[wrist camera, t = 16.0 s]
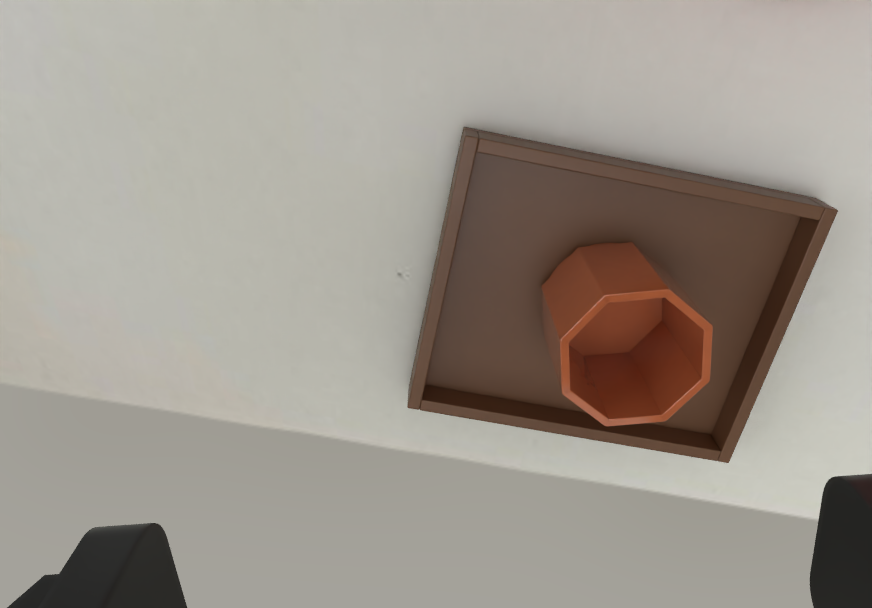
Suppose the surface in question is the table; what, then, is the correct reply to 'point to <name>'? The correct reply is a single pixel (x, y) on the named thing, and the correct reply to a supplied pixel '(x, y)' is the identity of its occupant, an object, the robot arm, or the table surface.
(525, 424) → the tray
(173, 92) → the table surface
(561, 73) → the table surface
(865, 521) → the robot arm
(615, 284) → the small cup
